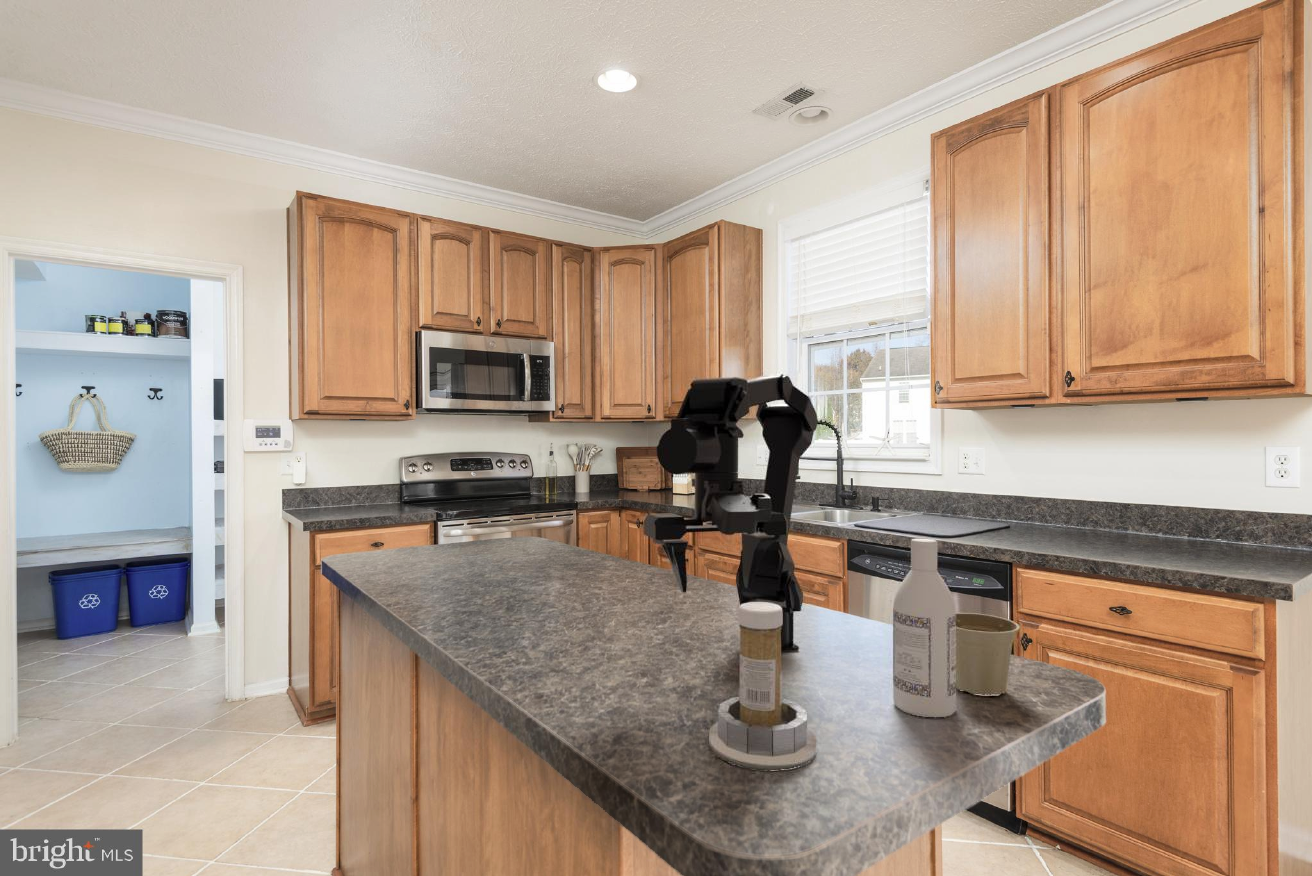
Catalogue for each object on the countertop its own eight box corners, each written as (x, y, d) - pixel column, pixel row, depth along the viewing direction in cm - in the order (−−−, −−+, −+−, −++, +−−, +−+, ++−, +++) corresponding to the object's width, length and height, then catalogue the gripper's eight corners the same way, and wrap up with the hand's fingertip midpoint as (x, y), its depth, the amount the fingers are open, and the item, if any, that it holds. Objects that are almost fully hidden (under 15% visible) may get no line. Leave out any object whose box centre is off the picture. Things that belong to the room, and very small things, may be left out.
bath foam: (936, 696, 83) (936, 535, 83) (968, 719, 76) (968, 544, 76) (883, 698, 82) (883, 536, 82) (910, 721, 75) (910, 544, 76)
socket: (783, 718, 76) (783, 687, 76) (838, 761, 66) (838, 726, 66) (693, 730, 73) (693, 698, 73) (736, 778, 62) (736, 741, 62)
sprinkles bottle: (789, 732, 70) (789, 604, 70) (771, 748, 66) (771, 613, 66) (750, 722, 72) (750, 598, 73) (730, 737, 69) (730, 606, 69)
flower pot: (974, 706, 80) (974, 634, 80) (922, 679, 89) (922, 615, 89) (1037, 699, 82) (1037, 628, 82) (981, 673, 91) (981, 610, 91)
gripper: (670, 475, 78) (669, 609, 78) (810, 474, 84) (810, 598, 83) (642, 471, 88) (641, 589, 88) (768, 470, 94) (768, 581, 94)
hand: (715, 589), depth 88 cm, fingers open, 9 cm apart
